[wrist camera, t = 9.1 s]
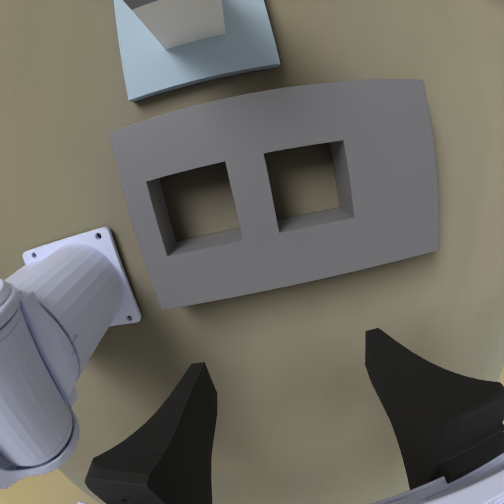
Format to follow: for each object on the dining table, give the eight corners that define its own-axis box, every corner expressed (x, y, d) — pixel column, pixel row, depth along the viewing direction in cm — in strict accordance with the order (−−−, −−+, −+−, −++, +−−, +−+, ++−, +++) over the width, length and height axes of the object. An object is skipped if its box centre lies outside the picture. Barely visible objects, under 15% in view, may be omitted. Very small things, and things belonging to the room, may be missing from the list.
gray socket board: (170, 290, 23) (161, 310, 20) (126, 133, 19) (109, 132, 16) (419, 237, 22) (438, 250, 19) (402, 85, 18) (422, 79, 15)
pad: (133, 102, 18) (128, 100, 17) (117, -9, 15) (112, -13, 14) (278, 67, 18) (280, 63, 17) (248, -42, 14) (248, -48, 13)
